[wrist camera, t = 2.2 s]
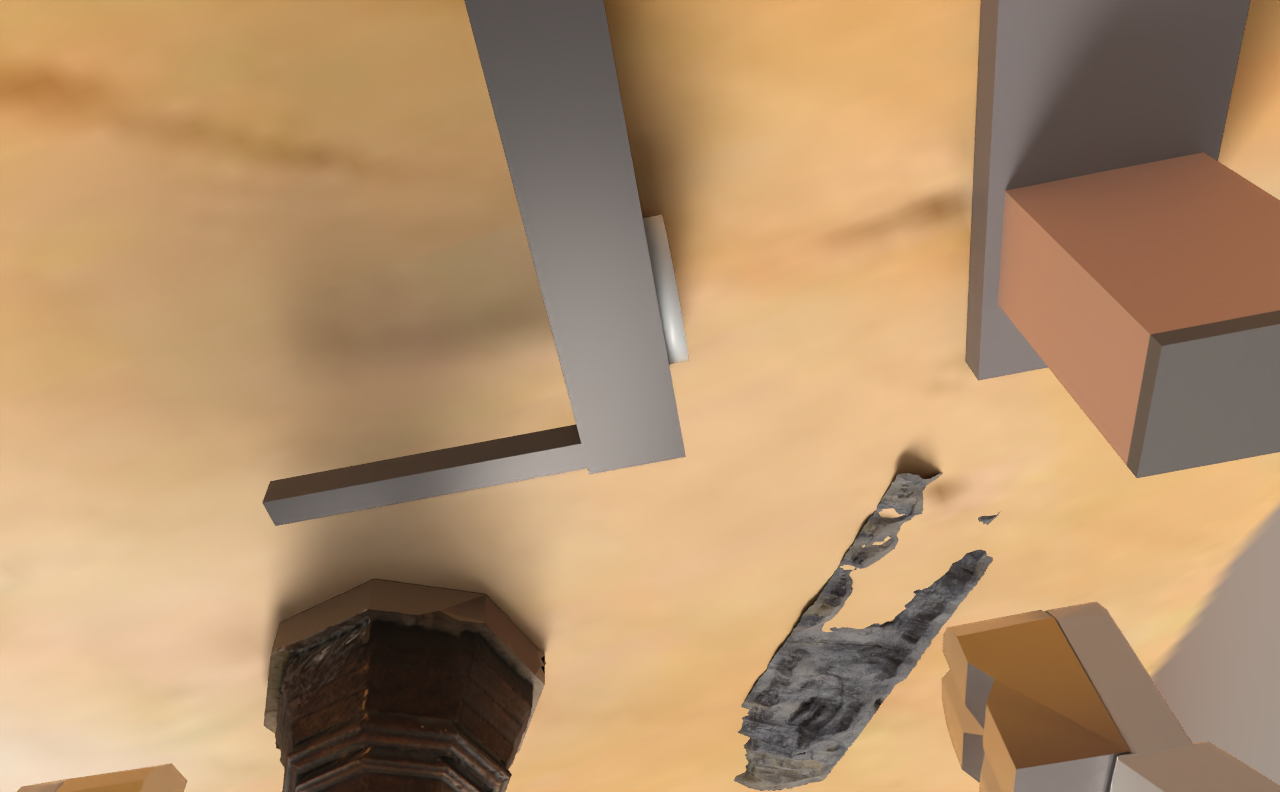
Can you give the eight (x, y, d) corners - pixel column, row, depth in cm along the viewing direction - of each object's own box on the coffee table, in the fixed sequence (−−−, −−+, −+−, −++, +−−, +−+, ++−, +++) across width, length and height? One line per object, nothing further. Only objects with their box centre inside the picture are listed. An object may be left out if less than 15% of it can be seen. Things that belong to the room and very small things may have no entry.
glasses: (306, 434, 33) (273, 532, 29) (-21, -241, 21) (-153, -235, 17) (684, 363, 33) (705, 452, 29) (562, -364, 21) (567, -387, 17)
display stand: (965, 361, 33) (1102, 564, 25) (1006, -589, 19) (1345, -824, 11) (1161, 324, 33) (1364, 517, 25) (1346, -663, 19) (1945, -958, 11)
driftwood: (804, 781, 49) (815, 820, 47) (684, 763, 47) (690, 802, 45) (1036, 486, 38) (1060, 521, 37) (893, 446, 36) (911, 481, 35)
